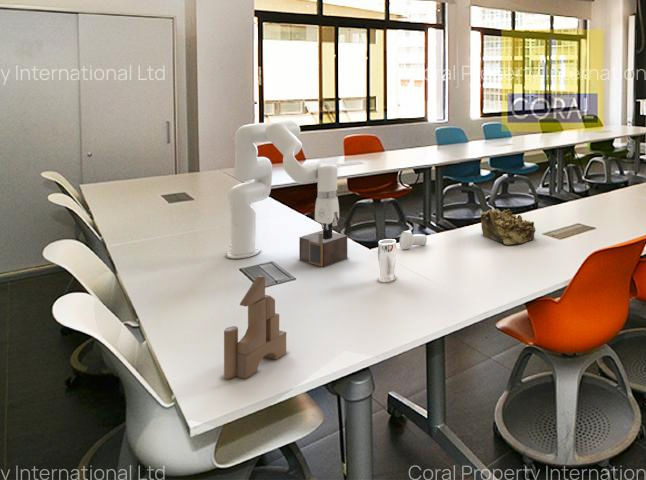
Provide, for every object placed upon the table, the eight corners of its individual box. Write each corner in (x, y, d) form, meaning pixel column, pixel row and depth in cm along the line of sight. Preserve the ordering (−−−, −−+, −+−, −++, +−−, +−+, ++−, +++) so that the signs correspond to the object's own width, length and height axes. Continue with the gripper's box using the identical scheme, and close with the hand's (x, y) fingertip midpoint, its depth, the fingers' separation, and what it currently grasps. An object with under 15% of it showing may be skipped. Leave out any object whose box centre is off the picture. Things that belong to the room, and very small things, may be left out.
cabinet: (323, 267, 222) (323, 243, 222) (299, 260, 230) (299, 237, 230) (347, 258, 232) (347, 235, 232) (323, 252, 240) (323, 230, 240)
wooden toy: (268, 349, 156) (268, 265, 156) (286, 353, 154) (286, 267, 154) (221, 378, 141) (221, 284, 141) (240, 382, 139) (240, 288, 139)
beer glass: (400, 277, 211) (400, 240, 211) (389, 284, 205) (389, 245, 204) (385, 275, 213) (385, 238, 213) (374, 281, 207) (374, 243, 207)
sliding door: (321, 266, 221) (321, 234, 221) (308, 263, 225) (308, 231, 225) (323, 266, 222) (323, 233, 221) (310, 262, 226) (310, 230, 225)
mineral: (544, 235, 267) (544, 205, 267) (514, 248, 246) (515, 216, 246) (501, 226, 282) (501, 198, 282) (470, 238, 261) (470, 208, 261)
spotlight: (396, 244, 247) (401, 228, 247) (418, 244, 254) (423, 228, 254) (403, 252, 241) (408, 235, 241) (425, 252, 248) (430, 235, 248)
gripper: (307, 194, 220) (308, 238, 220) (331, 198, 212) (331, 244, 212) (323, 190, 226) (323, 233, 226) (347, 194, 219) (347, 239, 219)
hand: (327, 238), depth 219 cm, fingers closed
